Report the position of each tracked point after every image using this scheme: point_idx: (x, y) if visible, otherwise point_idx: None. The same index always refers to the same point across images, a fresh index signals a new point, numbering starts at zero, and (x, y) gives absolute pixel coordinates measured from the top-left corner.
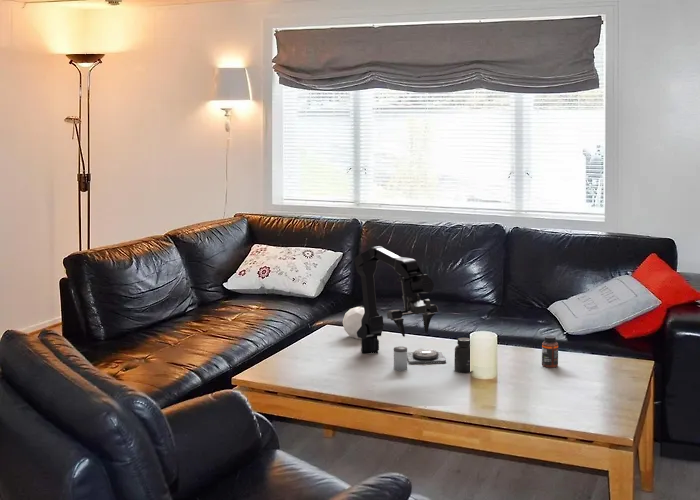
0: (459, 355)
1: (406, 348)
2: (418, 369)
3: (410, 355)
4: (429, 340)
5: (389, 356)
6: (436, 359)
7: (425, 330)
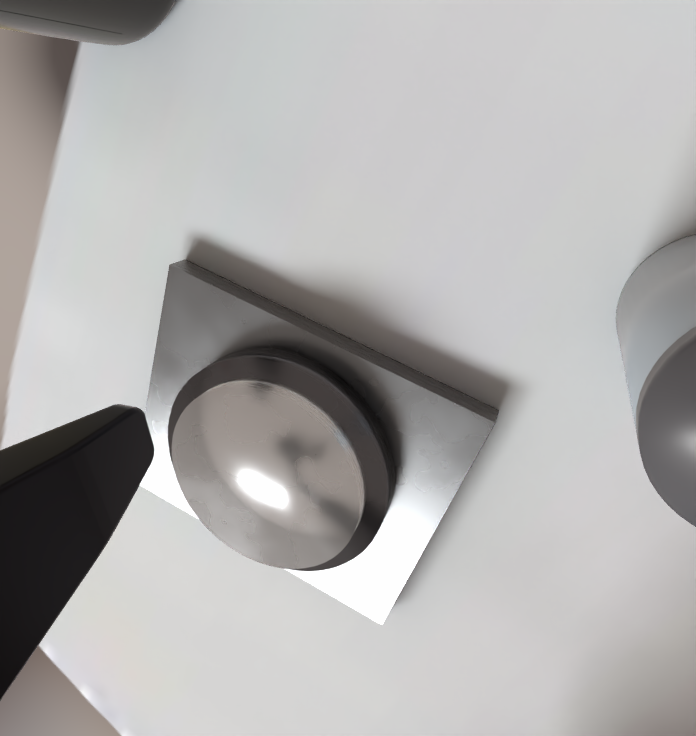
0: None
1: (688, 368)
2: (520, 199)
3: (386, 549)
4: (129, 698)
5: (532, 666)
6: (233, 333)
7: (117, 474)
